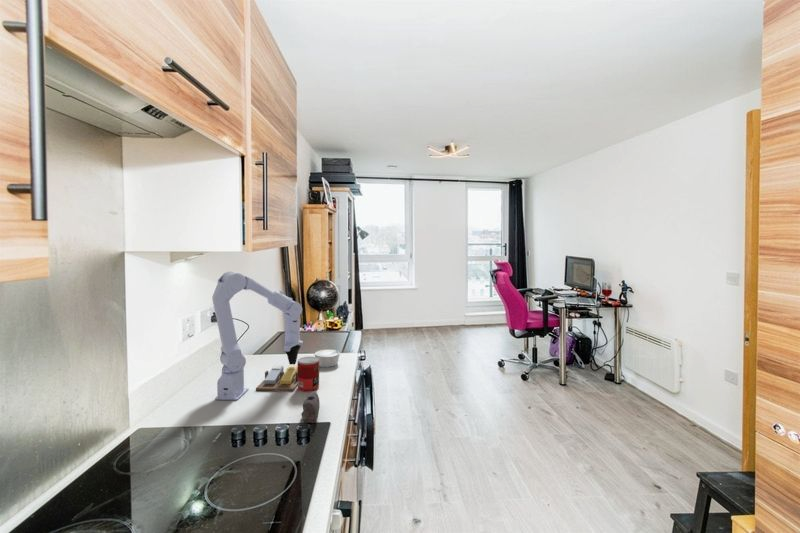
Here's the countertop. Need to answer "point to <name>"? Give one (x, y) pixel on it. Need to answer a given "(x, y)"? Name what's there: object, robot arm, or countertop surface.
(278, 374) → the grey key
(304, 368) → the canned food
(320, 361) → the ramekin
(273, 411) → the countertop surface
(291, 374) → the yellow rectangular block
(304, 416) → the perforated stone tool
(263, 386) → the walnut board
